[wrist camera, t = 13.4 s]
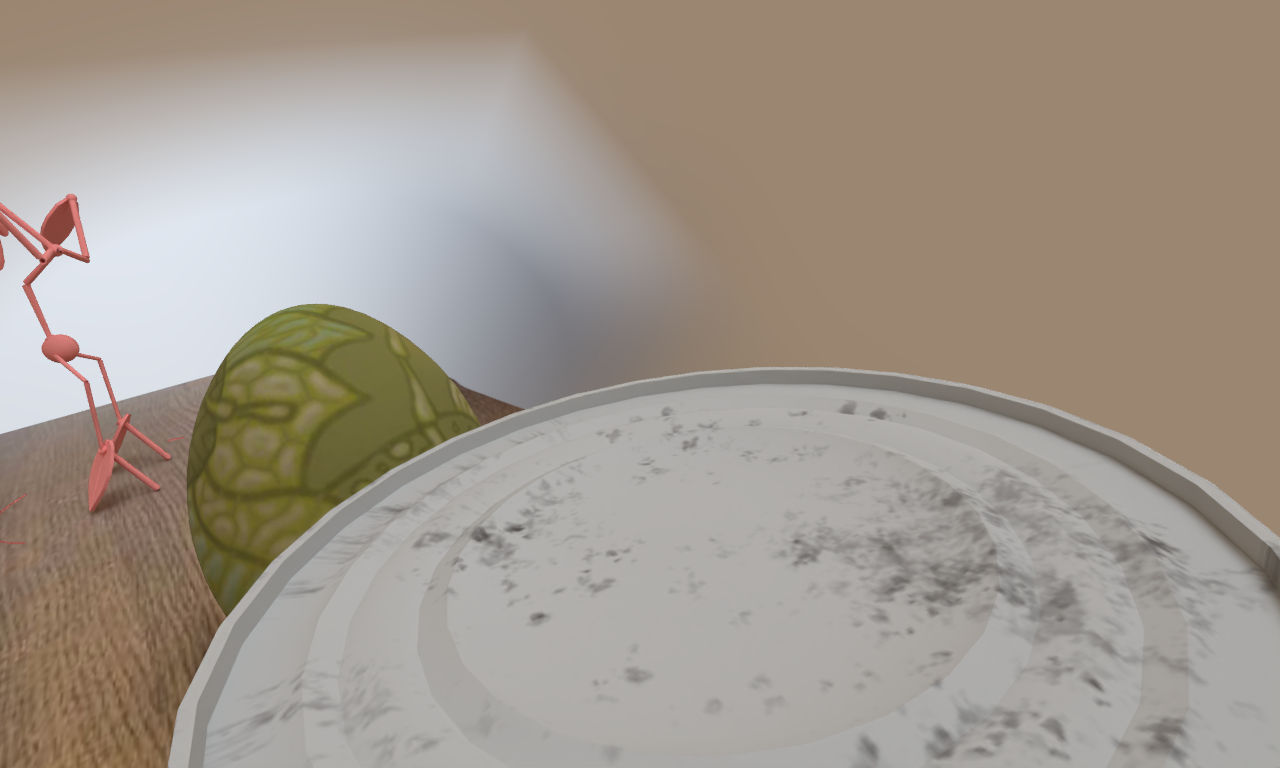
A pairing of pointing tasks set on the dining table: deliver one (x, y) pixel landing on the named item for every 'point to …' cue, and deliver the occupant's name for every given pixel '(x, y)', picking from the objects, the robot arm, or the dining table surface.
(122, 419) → the figurine
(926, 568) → the grey speckled cylinder
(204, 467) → the decorative sculpture
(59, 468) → the dining table surface
